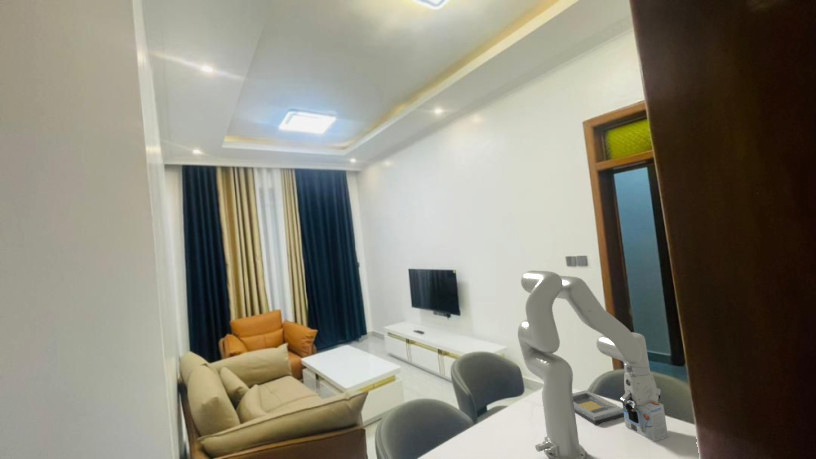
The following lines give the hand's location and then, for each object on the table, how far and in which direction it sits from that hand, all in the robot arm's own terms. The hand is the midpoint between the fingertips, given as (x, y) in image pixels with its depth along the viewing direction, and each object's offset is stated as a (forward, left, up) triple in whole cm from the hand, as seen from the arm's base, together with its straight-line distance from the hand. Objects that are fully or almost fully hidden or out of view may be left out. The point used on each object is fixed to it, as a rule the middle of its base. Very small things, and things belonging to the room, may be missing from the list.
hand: (644, 418), depth 111 cm
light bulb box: (0, 0, -5) cm, 5 cm away
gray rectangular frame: (-5, +19, -5) cm, 20 cm away
